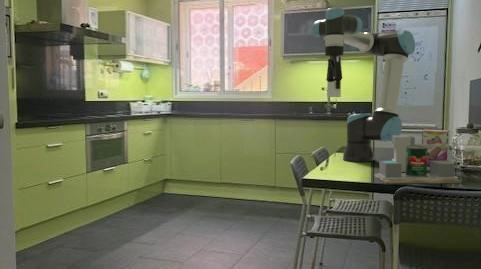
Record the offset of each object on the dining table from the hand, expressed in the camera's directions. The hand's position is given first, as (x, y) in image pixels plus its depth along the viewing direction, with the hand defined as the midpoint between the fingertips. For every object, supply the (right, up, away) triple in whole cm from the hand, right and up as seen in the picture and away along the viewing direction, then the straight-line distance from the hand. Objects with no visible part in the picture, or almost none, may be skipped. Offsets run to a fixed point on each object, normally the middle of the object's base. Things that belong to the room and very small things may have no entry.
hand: (333, 97), depth 198 cm
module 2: (+38, -31, -17) cm, 52 cm away
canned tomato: (+28, -32, -17) cm, 46 cm away
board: (+28, -33, -17) cm, 47 cm away
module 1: (+18, -31, -17) cm, 40 cm away
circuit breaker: (+33, -32, +3) cm, 46 cm away
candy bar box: (+50, -30, +18) cm, 61 cm away
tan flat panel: (+28, -33, -17) cm, 47 cm away
